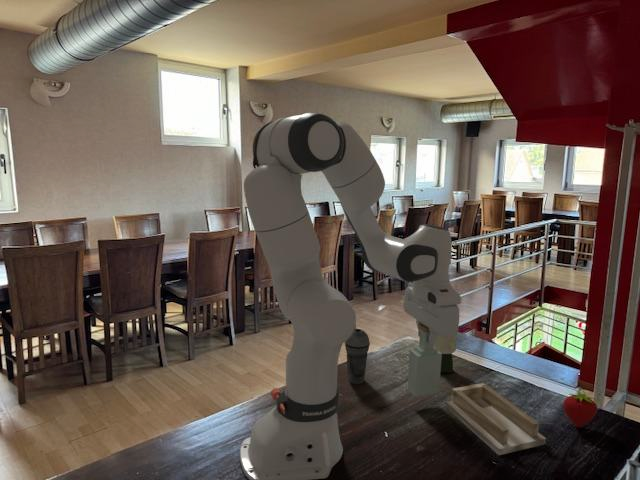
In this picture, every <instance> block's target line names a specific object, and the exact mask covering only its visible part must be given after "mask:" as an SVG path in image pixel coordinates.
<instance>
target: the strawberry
mask: <svg viewBox="0 0 640 480" xmlns="http://www.w3.org/2000/svg"><path fill="white" fill-rule="evenodd" d="M581 389H582V391H583V393H584V394H583V393H582V392H581V391H579V390H578V391H577V394H574V393H573V394H572V393H569V394H568V395H569V396H568V397H566V398H564V401H563V409H564V413H565V414H566V416H567V417H568V419H569V420H570V421H571V422H572V423H573V425H574V426H575V427H576V428H582V427H584V426H586V424H589V422H590V421H592V420H593V419H594V418H595V416H596V414H597V413H598V405H597V404H596V402H595V401H594V400H595V398H594V397H591V396H588V395H587V394H586V393H585V391H584V388H583V387H581Z"/></svg>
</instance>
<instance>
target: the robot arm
mask: <svg viewBox="0 0 640 480" xmlns="http://www.w3.org/2000/svg"><path fill="white" fill-rule="evenodd" d="M252 155H253V158H252V166H253V169H252V170H251V171H250V172H249V173H248V174H247V175H246V176H245V179H244V181H243V191H244V198H245V202H246V207H247V211H248V215H249V217H250V220H251V223H252V226H253V229H254V232H255V235H256V237H257V240H258V242H259V245H260V248H261V250H262V253H263V255H264V259H265V260H266V262H267V266H268V269H269V274H270V279H271V282H272V287H273V290H274V293H275V296H276V297H275V298H276V302H277V304H278V307H279V309H280V311H281V313H282V314H283V315H284V316H285V317H286V318H287V319H288V321H290V322H291V325H292V328H293V335H294V336H293V340H292V345H291V349H290V351H289V352H288V353H287V355H286V356H285V357H286V358H285V388H284V389H283V391H282V392H281V391H280V389H279V388H278V387H273V388H272V389H271V391H270V396H271V397H272V399H273V400H274V401H276V406H275V407H273V408H272V409H271V410H269V411H268V412H267V413H265V414H264V415H263V416H261V417H260V418H259V419H257V420H256V421H255V423H254V424H253V426H252V429H251V434H250V437H247V438H245V439H244V440H243V441H242V442H241V445H240V447H239V448H240V449H239V461H240V466H241V469H242V472H243V474H244V475H245V476H246V477H247V479H248V480H319V479H327V478H328V477H329V475H330V473H331V472H332V468H333V467H334V466H336V464H337V463H338V462H339V461H340V460H341V458H342V457H343V456H342V455H343V452H344V448H343V445H342V441H341V438H340V436H341V435H340V433H339V432H340V431H339V430H340V429H339V425H338V423H339V422H338V415H339V408H340V395H339V394H340V393H339V389H338V367H339V356H340V353H341V349H342V346H343V344H345V341H346V340H347V339H348V338H349V337H350V336H351V334H352V333H353V331H354V328H355V325H356V323H357V316H356V312H355V310H354V308H353V306H352V304H351V303H350V301H349V300H348V299H347V298H346V296H345V294H343V293H342V292H341V291H339V290H338V289H336V288H335V287H334V286H332V285H330V284H329V283H328V282H327V280H326V279H325V278H324V276H323V273H322V269H321V265H320V264H321V263H320V252H321V244H320V241H319V239H318V235H317V233H316V229H315V227H314V223H313V221H312V219H311V216H310V212H309V209H308V207H307V204H306V200H305V198H304V196H303V194H302V192H303V191H302V186H301V185H302V177H303V175H304V174H307V173H317V172H321V173H322V174H323V175H324V177H325V179H326V181H327V183H328V185H329V186H330V188H331V189H332V191H333V192H334V193H335V196H336V197H337V198H338V200H339V202H340V205H341V208H342V211H343V212H344V214H345V217H346V219H347V221H348V222H349V225H350V226H351V228H352V230H353V232H354V234H355V236H356V237H357V240H358V242H359V244H360V248H361V254H362V259H363V262H364V264H365V265H366V267H367V268H368V269H369V270H370V271H372V272H375V273H380V274H383V275H386V276H389V277H392V278H393V279H394V278H395V279H398V280H400V281H403V282H407V283H408V284H407V287H405V288H406V289H405V290H404V291H405V292H404V297H403V304H402V307H403V311H404V313H406V314H407V315H409V316H410V317H412V318H414V319H415V320H416V321H415V323H416V327H417V330H418V331H417V332H418V333H417V336H418V337H419V338H420V329H419V324H424V325H426V326H427V327H429V331H430V335H429V336H427V340H426V341H427V342H428V343H429V344H430V345H432V344H435V343H436V337H437V336H438V334H439V335H441V336H442V337H453V336H455V335H456V334H457V335H458V333H459V325H460V324H459V323H460V307H459V306H458V305H460V304H461V303H462V296H461V295H460V293H458V292H457V291H456V290H455V288H454V287H453V286H452V284H451V283H450V273H449V268H450V265H451V263H452V249H453V246H452V235H451V231H450V230H448V229H447V228H446V227H442V226H437V225H433V224H426V223H425V224H424V223H423V224H420V225H418V228H417V230H416V231H415V232H414V233H412V234H410V235H409V236H408V237H405V238H400V237H396V236H393V235H391V234H389V233H387V232H385V231H384V230H383V229H382V228H381V226H380V224H379V222H378V220H377V217H376V216H375V214H374V211H373V209H372V206H375V204H376V203H377V202H378V201H379V200H380V198H381V197H382V196H383V193H384V190H385V187H386V186H385V185H386V180H385V177H384V174H383V171H382V169H381V167H380V165H379V163H378V162H377V160H376V158H375V156H374V155H373V153H372V152H371V150H370V148H369V146H368V145H367V144H366V142H365V141H364V139H363V138H362V137H361V136H360V135H359V133H358V132H357V131H356V130H355V129H354V127H353V126H351V124H349V123H346V122H343V121H339V122H338V121H337V122H336V121H335V120H334V119H333V118H331V117H329V116H328V115H325V114H324V113H318V112H306V113H303V114H298V115H289V116H288V115H287V116H284V117H282V118H279V119H276V120H273V121H269V122H268V123H266V124H264V125H263V126H262V127H260V129H259V130H258V131H257V132H256V134H255V135H254V138H253V142H252ZM356 326H357V325H356Z"/></svg>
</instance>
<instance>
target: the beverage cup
mask: <svg viewBox="0 0 640 480" xmlns="http://www.w3.org/2000/svg"><path fill="white" fill-rule="evenodd" d="M344 346H345V351H346V363H347V364H346V366H347V378H348V379H347V381H348V380H349V383H350V384H354V385H360V384H363V383H364V381H365V376H366V369H367V359H368V352H369V349H370V346H371V343H370V339H369V335H368V334H367V332H366V331H365V330H363V329H362V328H361V329H360V328H357V325H355V328H354V331H353V333H352V334H351V336H350V337H349V338H348V339H347V340H346V341H345V342H344Z"/></svg>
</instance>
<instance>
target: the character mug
mask: <svg viewBox="0 0 640 480" xmlns="http://www.w3.org/2000/svg"><path fill="white" fill-rule="evenodd" d="M457 340H458V333H457V334H456V335H455V336H453V337H442V336H441V335H439V334H438V336H437V337H436V343H435V344H434V347H435V348H437V349H438V351H439V352H441V353H442V359H441V371H440V373H444V374H445V373H452V372H453V371H454V362H453V361H454V360H453V354H454V353H455V352H456V350H457Z"/></svg>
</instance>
